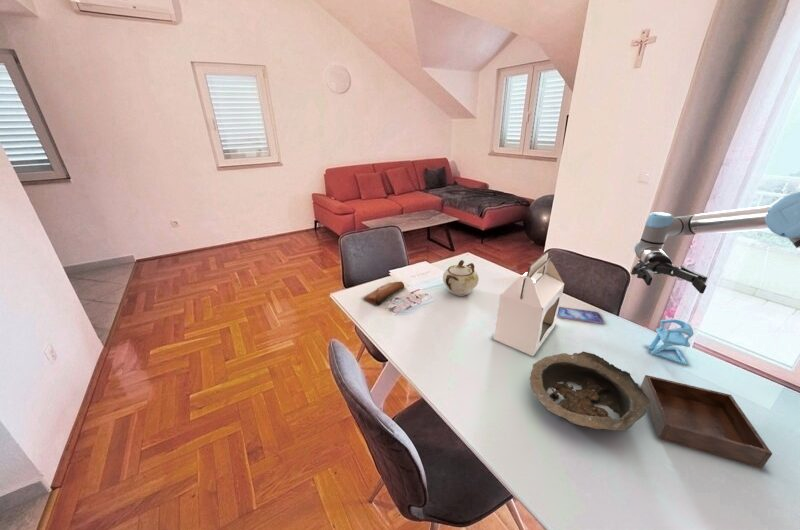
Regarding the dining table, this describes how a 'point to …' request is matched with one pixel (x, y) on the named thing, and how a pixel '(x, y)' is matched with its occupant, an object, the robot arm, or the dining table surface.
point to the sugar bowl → (460, 278)
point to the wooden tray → (703, 421)
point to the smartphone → (579, 315)
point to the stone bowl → (588, 391)
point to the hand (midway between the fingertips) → (676, 285)
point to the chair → (672, 339)
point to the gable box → (529, 307)
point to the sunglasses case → (384, 292)
